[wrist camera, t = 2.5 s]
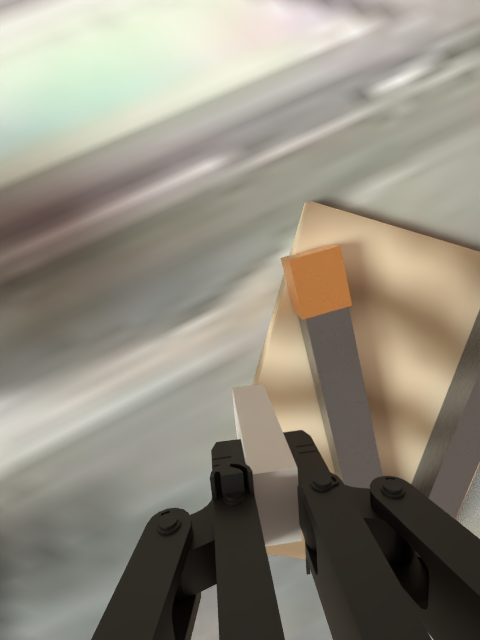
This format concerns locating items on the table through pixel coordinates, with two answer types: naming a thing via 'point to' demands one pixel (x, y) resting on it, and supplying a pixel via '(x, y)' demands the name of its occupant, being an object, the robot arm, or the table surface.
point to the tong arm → (334, 360)
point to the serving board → (378, 335)
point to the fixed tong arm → (454, 435)
